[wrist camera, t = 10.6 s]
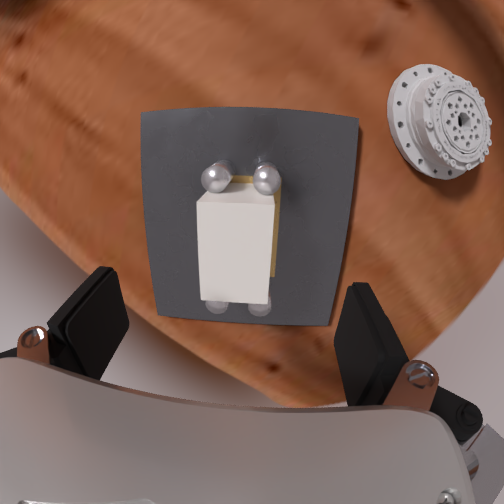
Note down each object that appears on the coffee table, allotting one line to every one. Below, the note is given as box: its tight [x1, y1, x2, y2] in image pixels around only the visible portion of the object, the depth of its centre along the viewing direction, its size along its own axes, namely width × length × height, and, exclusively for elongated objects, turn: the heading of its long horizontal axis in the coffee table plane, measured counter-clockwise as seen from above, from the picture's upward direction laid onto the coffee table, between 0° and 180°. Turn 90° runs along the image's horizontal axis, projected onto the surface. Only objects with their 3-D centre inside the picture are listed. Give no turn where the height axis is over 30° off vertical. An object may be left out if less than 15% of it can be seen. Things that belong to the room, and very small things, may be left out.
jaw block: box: [197, 183, 275, 304], centre depth 18 cm, size 6×4×6 cm, turn 178°
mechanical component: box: [387, 64, 492, 180], centre depth 15 cm, size 10×4×10 cm
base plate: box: [141, 107, 359, 326], centre depth 19 cm, size 18×16×5 cm
